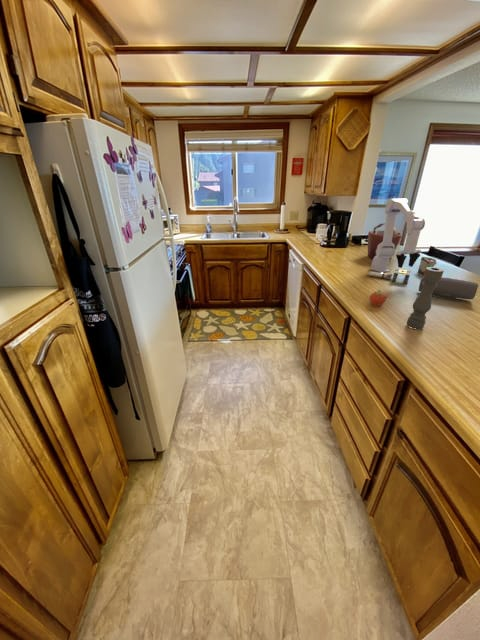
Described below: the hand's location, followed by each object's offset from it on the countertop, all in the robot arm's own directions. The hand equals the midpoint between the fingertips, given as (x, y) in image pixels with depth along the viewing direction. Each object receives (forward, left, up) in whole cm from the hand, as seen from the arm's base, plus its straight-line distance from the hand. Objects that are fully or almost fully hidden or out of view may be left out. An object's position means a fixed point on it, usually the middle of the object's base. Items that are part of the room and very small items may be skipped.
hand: (405, 266), depth 150 cm
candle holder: (+35, -41, -10) cm, 55 cm away
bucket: (-43, +39, -10) cm, 59 cm away
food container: (-2, +29, -10) cm, 31 cm away
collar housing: (-3, +4, -10) cm, 11 cm away
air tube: (-13, -2, -10) cm, 17 cm away
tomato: (+13, -37, -10) cm, 41 cm away
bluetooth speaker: (+23, +2, -10) cm, 25 cm away
